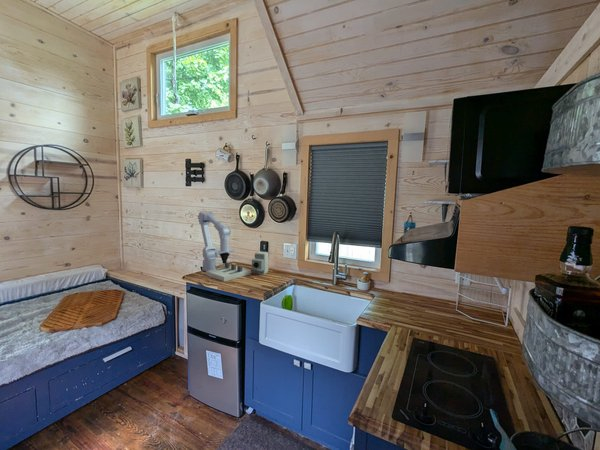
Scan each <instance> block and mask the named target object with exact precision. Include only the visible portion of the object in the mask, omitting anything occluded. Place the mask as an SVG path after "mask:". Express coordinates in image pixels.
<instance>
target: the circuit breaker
mask: <svg viewBox="0 0 600 450" xmlns="http://www.w3.org/2000/svg"><path fill="white" fill-rule="evenodd" d="M269 255H270V254H269V251H260V250H259V251H257V252H255V253H254V258H252V259H251V271H254V274H258V275H266V274H267V273H269V258H270V257H269Z"/></svg>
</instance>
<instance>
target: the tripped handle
mask: <svg viewBox="0 0 600 450" xmlns="http://www.w3.org/2000/svg"><path fill="white" fill-rule="evenodd" d="M230 265H231V269H233V270H234V269H236V266H237V263H235V262H232V263H230Z"/></svg>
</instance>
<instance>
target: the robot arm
mask: <svg viewBox="0 0 600 450" xmlns="http://www.w3.org/2000/svg"><path fill="white" fill-rule="evenodd" d="M197 219H198V224H199V225H200V228H201V233H202V237H203V242H204V245H205V246H204V247H203V248H202V258H203V260H202V268H201V271H204V272H206V271H209V270H213V269H216V259H217V258H218V256H220V258H221V261H222V264H223V265H225V264H226V262H228V258H229V256H230V253H234V248H230V247H229V246H230V243H229V242H230V238H229V237H230V235H231V233H232V232H231V229H230V227H229V226H226V225H224V223H222V222H221V221H218V219H217V218H216V217H215V215H214V213H213V211H204V212H203V211H202V212H201V211H200V212H199V213H198V216H197ZM211 223H212V224H213V227H214V228H215V230H216V231H218V235H219V239H220V241H219V247H220V248H219V249H220V250H217V247H216V246H214V245H213V241H212V237H211V231H210V227H209V225H210V224H211Z"/></svg>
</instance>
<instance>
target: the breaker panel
mask: <svg viewBox="0 0 600 450" xmlns="http://www.w3.org/2000/svg"><path fill="white" fill-rule="evenodd" d="M205 272H206V275H205V276H208V277H211V278H213V279H216V280H218V281H222V282H227V281H231V280H233V279H238V278H241V277H244V276H248V275H251V274H252V269H250V268H249V269H248V268H246V267H243V265H236V269H234V270H233V269H231V263H230V262H228V261H227V262H226V264H224V266H221V267H219V268H215V269H213V270H209V271H205Z"/></svg>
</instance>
